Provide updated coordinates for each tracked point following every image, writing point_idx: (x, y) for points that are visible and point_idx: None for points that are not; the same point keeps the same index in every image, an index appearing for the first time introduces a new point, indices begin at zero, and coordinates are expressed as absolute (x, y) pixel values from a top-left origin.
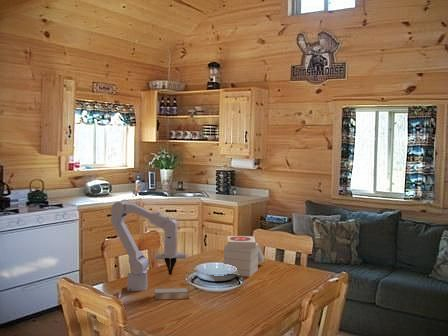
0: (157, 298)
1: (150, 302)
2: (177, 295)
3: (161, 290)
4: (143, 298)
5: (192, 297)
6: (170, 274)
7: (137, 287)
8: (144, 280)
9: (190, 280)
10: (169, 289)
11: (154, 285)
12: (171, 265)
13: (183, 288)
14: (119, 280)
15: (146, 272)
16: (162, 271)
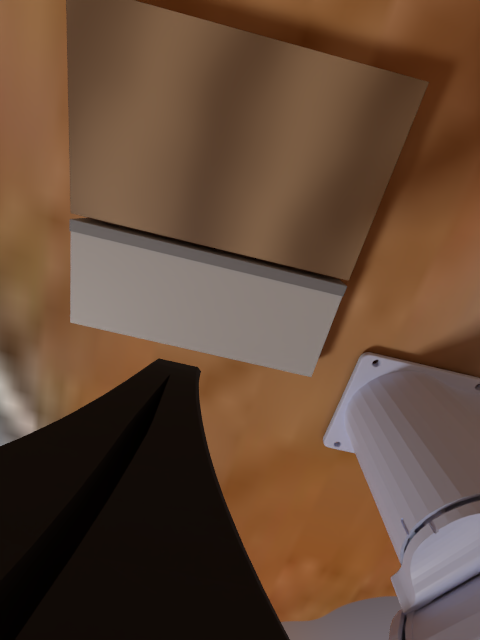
0: (393, 109)
1: (429, 149)
2: (175, 148)
3: (271, 334)
4: (434, 269)
5: (50, 156)
6: (174, 364)
7: (459, 401)
8: (431, 439)
9: None
10: (206, 336)
11: (265, 471)
12: (71, 471)
13: (94, 323)
14: None
15: (445, 529)
16: None
